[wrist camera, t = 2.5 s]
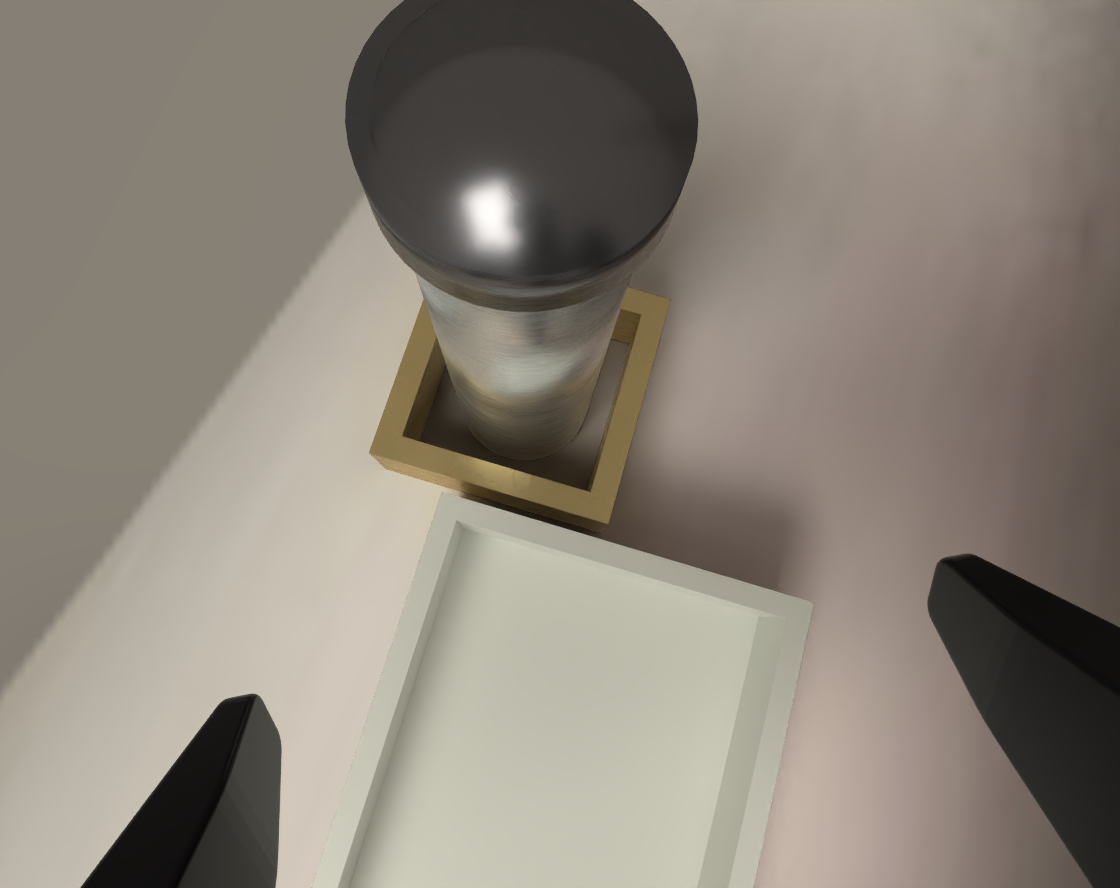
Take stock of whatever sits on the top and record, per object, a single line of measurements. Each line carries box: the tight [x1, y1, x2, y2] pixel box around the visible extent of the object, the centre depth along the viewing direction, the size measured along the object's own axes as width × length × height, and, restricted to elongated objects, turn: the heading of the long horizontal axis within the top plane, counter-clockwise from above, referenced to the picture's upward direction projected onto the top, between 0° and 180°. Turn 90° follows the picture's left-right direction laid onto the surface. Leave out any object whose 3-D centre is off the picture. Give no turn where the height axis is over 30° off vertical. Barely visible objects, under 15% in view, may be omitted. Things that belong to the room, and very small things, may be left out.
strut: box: [345, 0, 698, 460], centre depth 17 cm, size 5×5×14 cm
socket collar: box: [369, 287, 671, 532], centre depth 22 cm, size 7×7×2 cm
